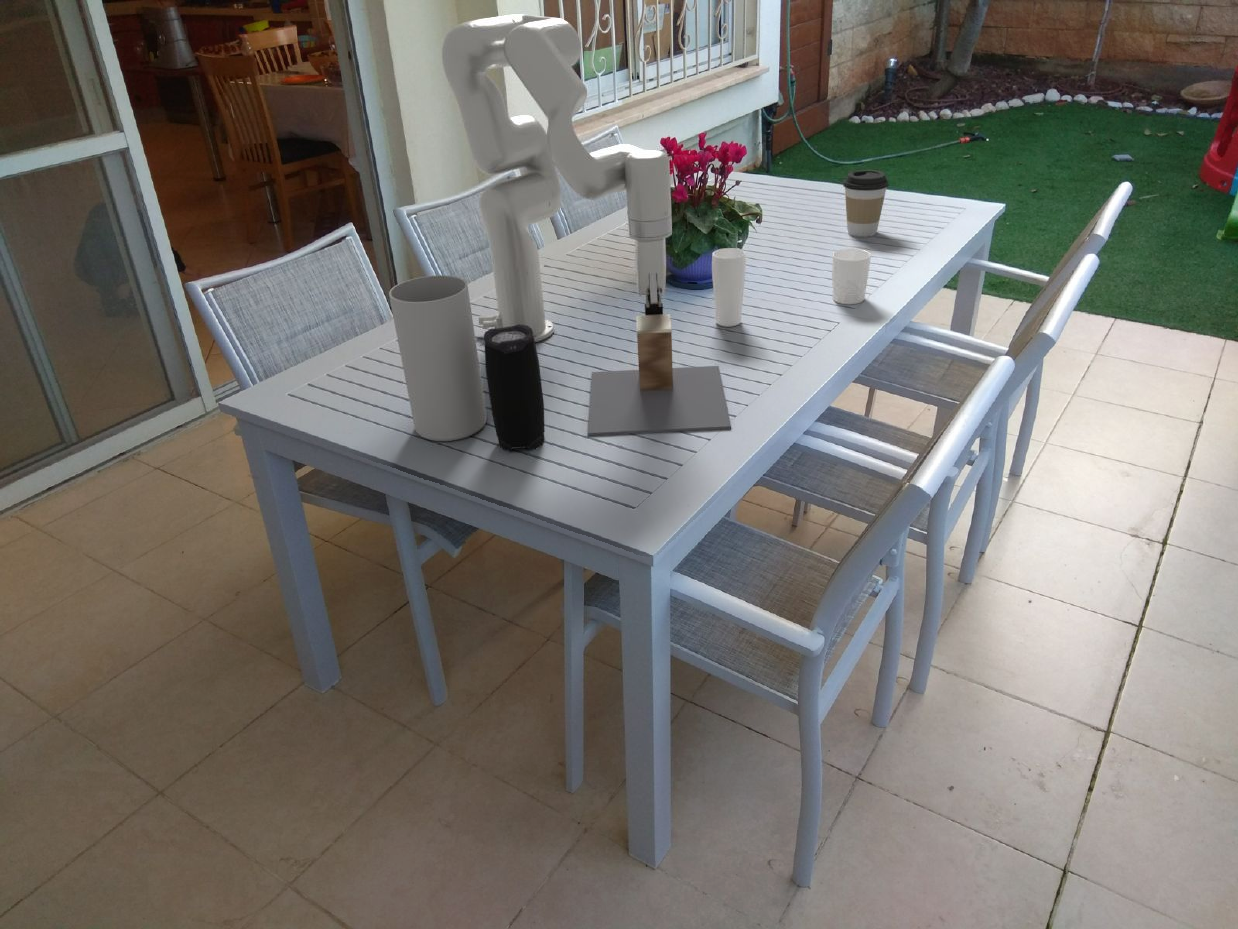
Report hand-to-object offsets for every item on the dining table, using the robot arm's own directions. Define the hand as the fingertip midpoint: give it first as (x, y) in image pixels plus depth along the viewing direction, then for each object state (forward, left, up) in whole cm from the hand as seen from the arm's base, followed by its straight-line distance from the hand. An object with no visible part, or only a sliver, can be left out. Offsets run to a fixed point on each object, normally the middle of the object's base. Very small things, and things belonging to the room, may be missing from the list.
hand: (654, 325), depth 170 cm
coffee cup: (+56, +80, -10) cm, 98 cm away
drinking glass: (+16, +24, -10) cm, 30 cm away
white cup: (+43, +34, -10) cm, 55 cm away
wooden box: (0, -4, -9) cm, 10 cm away
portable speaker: (-23, -23, -10) cm, 35 cm away
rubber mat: (0, -10, -10) cm, 14 cm away
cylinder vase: (-36, -16, -10) cm, 41 cm away
